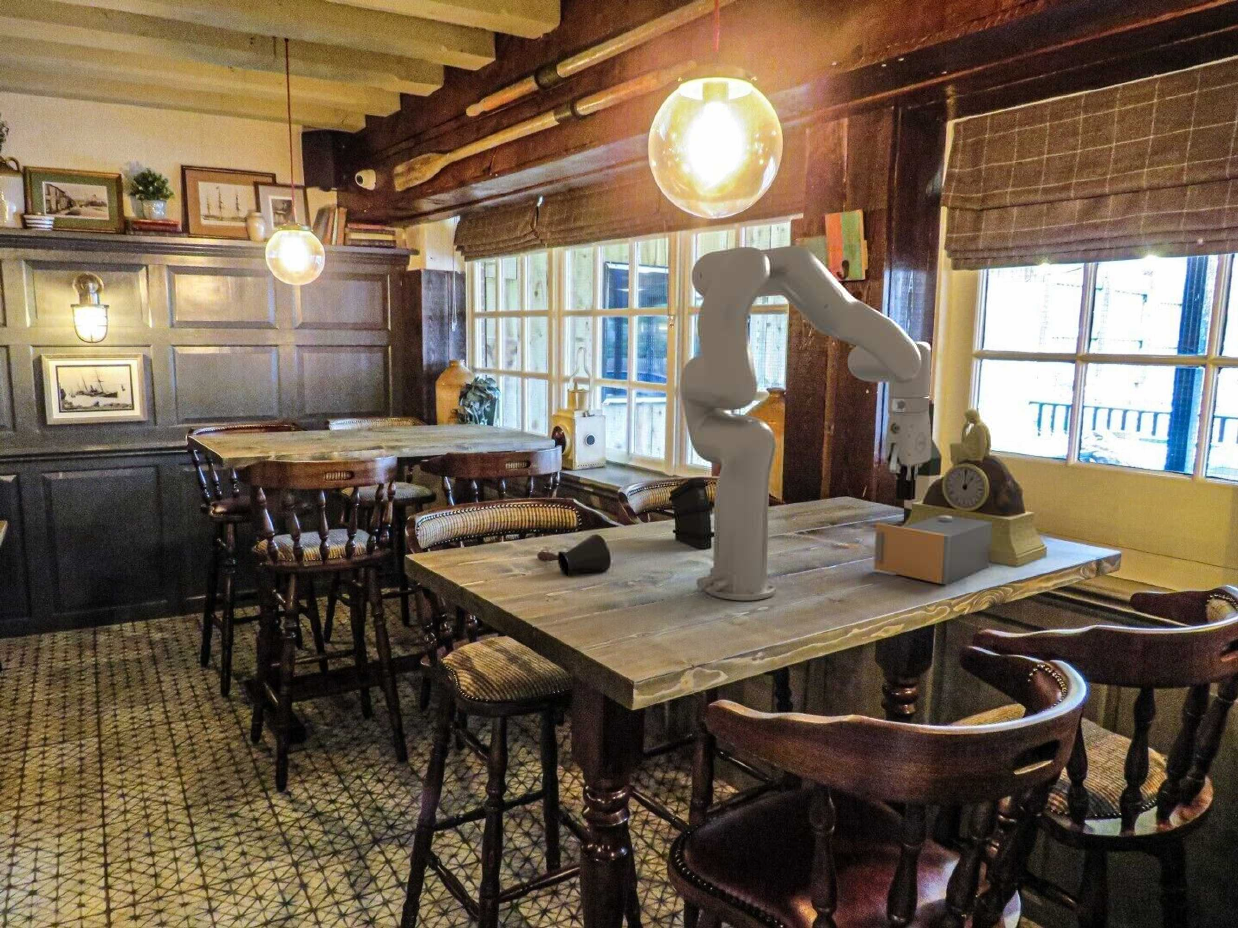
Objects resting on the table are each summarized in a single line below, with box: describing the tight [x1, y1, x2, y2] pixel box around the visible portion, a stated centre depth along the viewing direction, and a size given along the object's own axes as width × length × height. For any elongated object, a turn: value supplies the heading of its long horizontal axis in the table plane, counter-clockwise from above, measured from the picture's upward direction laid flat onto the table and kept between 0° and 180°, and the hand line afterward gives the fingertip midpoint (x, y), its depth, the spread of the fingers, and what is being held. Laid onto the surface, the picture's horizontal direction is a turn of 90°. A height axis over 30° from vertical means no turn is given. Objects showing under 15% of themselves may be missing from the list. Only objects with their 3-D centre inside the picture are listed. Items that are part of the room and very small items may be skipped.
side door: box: [873, 522, 950, 585], centre depth 161 cm, size 2×14×9 cm, turn 43°
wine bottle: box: [902, 399, 943, 525], centre depth 205 cm, size 8×8×30 cm
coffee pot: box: [536, 533, 612, 578], centre depth 171 cm, size 8×18×8 cm
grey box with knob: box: [896, 515, 992, 586], centre depth 168 cm, size 20×10×10 cm, turn 133°
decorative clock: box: [900, 408, 1048, 568], centre depth 183 cm, size 28×13×30 cm, turn 40°
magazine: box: [668, 476, 714, 551], centre depth 189 cm, size 4×13×15 cm, turn 27°
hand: (905, 498), depth 169 cm, fingers closed
